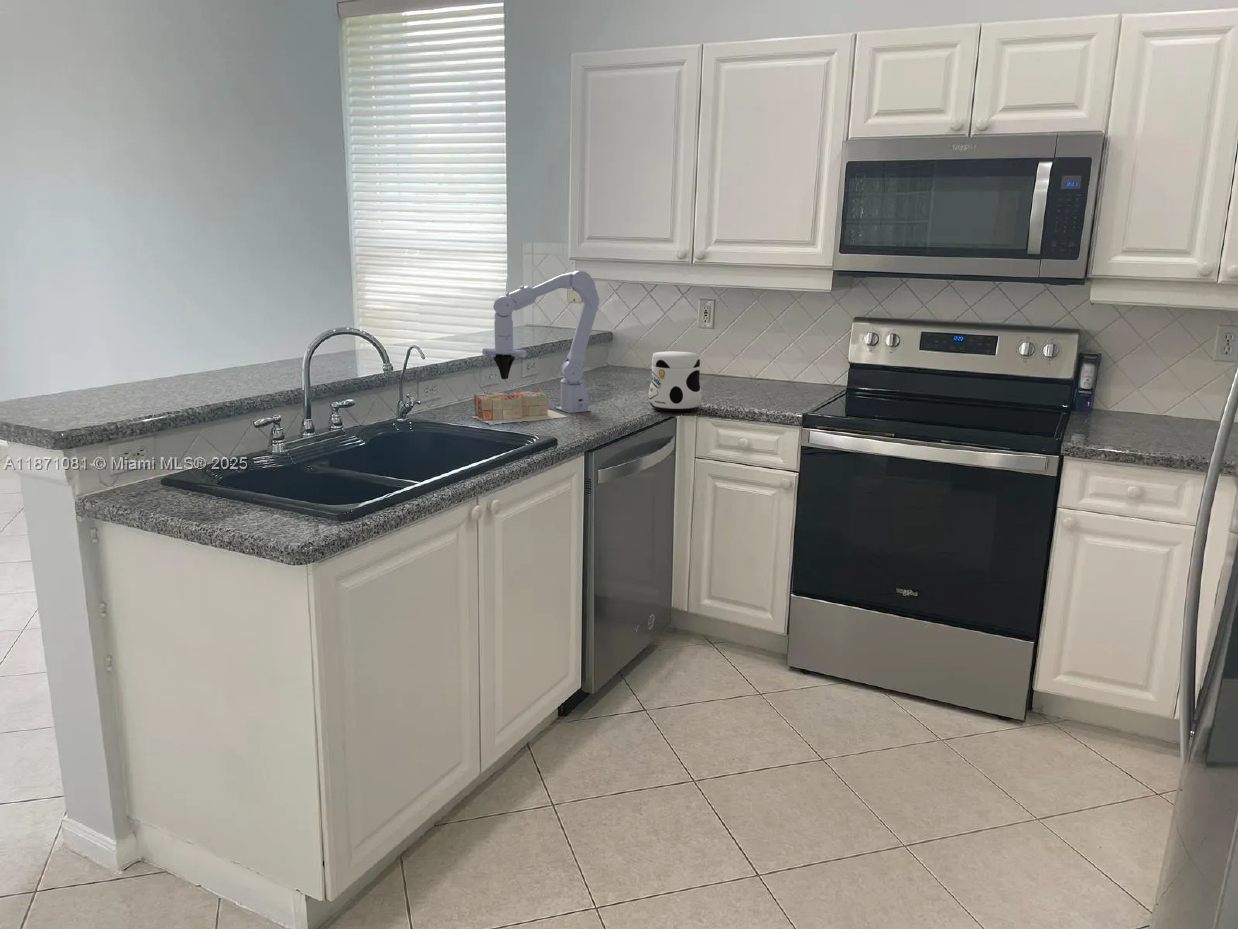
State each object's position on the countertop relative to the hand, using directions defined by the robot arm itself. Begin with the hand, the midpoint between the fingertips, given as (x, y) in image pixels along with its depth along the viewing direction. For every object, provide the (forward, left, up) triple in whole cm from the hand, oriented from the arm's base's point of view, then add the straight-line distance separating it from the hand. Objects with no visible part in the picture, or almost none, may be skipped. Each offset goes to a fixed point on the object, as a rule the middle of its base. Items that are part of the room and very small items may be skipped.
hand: (504, 378), depth 285 cm
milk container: (-23, -50, -11) cm, 56 cm away
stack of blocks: (-2, 0, -7) cm, 7 cm away
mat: (-11, 0, -10) cm, 15 cm away
